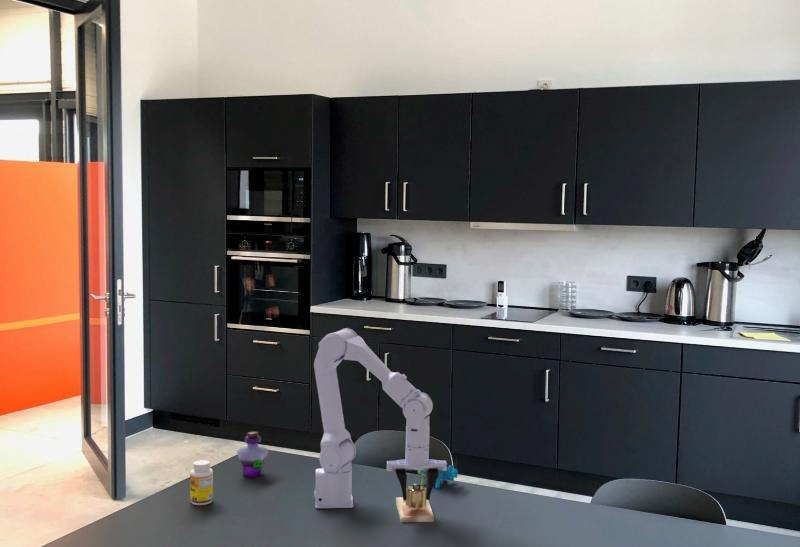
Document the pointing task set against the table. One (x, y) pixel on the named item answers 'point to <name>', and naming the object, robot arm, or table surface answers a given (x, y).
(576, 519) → the table surface
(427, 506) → the plate
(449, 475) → the toy dinosaur
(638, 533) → the table surface
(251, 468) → the potion bottle
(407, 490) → the planet gear
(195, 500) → the supplement bottle
